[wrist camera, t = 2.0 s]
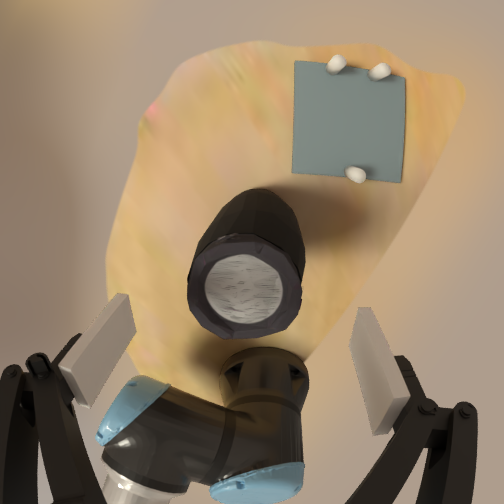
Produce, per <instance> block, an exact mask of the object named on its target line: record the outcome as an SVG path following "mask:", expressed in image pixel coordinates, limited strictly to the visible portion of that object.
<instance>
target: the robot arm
mask: <svg viewBox="0 0 504 504" xmlns="http://www.w3.org/2000/svg"><path fill="white" fill-rule="evenodd" d="M135 333H136V327H135V323H134V319H133V314H132V310H131V305H130V300H129V295H128V294H121V293H117V294H116V295H115V296H114V298H113V299H112V300H111V301H110V302H109V303H108V304H107V306H106V307H105V308H104V309H103V310H102V312H101V313H100V314H99V315H98V317H96V319H95V320H94V321H93V322H92V324H91V325H90V326H89V327H88V328H87V329H86V331H85V332H84V333H83V334H80V333H78V334H77V335H75V336H74V337H72V338H71V339H70V340H69V342H68V343H67V345H65V347H64V348H63V350H61V352H60V353H59V354H58V355H57V356H56V358H55V359H54V360H53V361H52V363H50V361H49V359H48V357H47V355H46V354H44V353H35V354H33V355H31V356H30V357H28V359H27V360H26V363H25V364H26V367H27V369H28V370H29V372H30V373H27V372H23V370H22V369H21V367H20V366H19V365H15V364H13V365H10V366H8V367H6V369H4V371H3V373H2V376H1V379H0V504H38V489H37V466H38V443H39V442H40V447H41V452H42V457H43V461H44V466H45V470H46V474H47V478H48V482H49V485H50V489H51V493H52V496H53V500H54V501H53V503H52V504H169V502H170V499H172V498H174V497H178V496H180V495H184V494H185V493H186V492H187V489H188V487H189V484H190V482H191V481H193V482H198V483H201V484H205V485H208V486H210V489H209V492H210V495H211V497H212V498H213V499H214V500H216V501H219V502H221V503H225V504H273V503H277V502H281V501H284V500H287V499H289V498H291V497H293V496H295V495H296V494H297V493H298V492H299V491H300V490H301V488H302V486H303V476H304V468H305V464H304V461H303V443H302V426H301V410H302V407H303V404H304V402H305V399H306V396H307V393H308V390H309V376H308V371H307V368H306V366H305V364H304V363H303V362H302V361H301V360H300V359H299V358H298V357H296V356H295V355H293V354H291V353H289V352H287V351H284V350H281V349H277V348H269V347H258V348H251V349H247V350H243V351H241V352H238V353H236V354H235V355H233V356H232V357H230V358H229V359H228V360H227V361H226V362H225V364H224V366H223V368H222V371H221V376H220V390H221V395H222V399H223V403H224V407H223V406H220V405H217V404H215V403H212V402H209V401H207V400H204V399H201V398H199V397H196V396H194V395H191V394H189V393H186V392H184V391H182V390H179V389H177V388H175V387H172V386H171V384H169V383H167V384H165V383H162V382H160V381H157V380H155V379H152V378H150V377H148V376H144V375H139V376H135V377H133V378H132V379H131V380H129V381H128V382H127V383H126V385H125V386H124V387H123V389H122V390H121V391H120V393H119V394H118V395H117V397H116V398H115V400H114V402H113V403H112V405H111V406H110V408H109V409H108V411H107V413H106V414H105V417H104V418H103V420H102V422H101V424H100V426H99V429H98V432H97V434H96V436H95V439H96V441H97V442H98V443H99V444H100V445H101V446H105V448H104V451H103V454H102V456H101V460H102V462H103V464H104V466H105V468H106V470H107V471H108V475H107V477H106V480H105V483H104V486H103V489H102V490H101V488H100V486H99V483H98V481H97V478H96V476H95V473H94V471H93V468H92V465H91V463H90V460H89V457H88V454H87V451H86V448H85V445H84V442H83V439H82V435H81V432H80V429H79V425H78V421H77V418H76V414H75V410H74V406H73V404H72V402H71V401H72V400H73V398H74V397H75V399H76V401H77V403H78V404H79V405H81V406H85V407H87V408H91V407H92V405H93V403H94V402H95V400H96V398H97V396H98V395H99V393H100V391H101V389H102V388H103V386H104V384H105V383H106V381H107V379H108V378H109V376H110V374H111V372H112V371H113V369H114V367H115V366H116V364H117V362H118V361H119V359H120V358H121V356H122V354H123V353H124V351H125V349H126V348H127V346H128V345H129V343H130V341H131V340H132V338H133V336H134V335H135ZM349 348H350V351H351V355H352V358H353V362H354V365H355V369H356V372H357V376H358V379H359V383H360V387H361V390H362V394H363V398H364V402H365V405H366V409H367V413H368V417H369V421H370V425H371V430H372V434H373V435H381V434H388V433H389V431H390V430H391V428H392V427H393V429H394V432H395V434H394V435H393V437H392V438H391V440H390V441H389V442H388V444H387V446H386V448H385V450H384V451H383V453H382V454H381V456H380V457H379V459H378V460H377V462H376V463H375V464H374V466H373V467H372V469H371V470H370V472H369V473H368V474H367V476H366V477H365V478H364V480H363V481H362V483H361V484H360V485H359V486H358V488H357V489H356V490H355V492H354V493H353V494H352V495H351V497H350V498H349V499H348V500H347V502H346V503H345V504H392V503H393V502H394V500H395V499H396V497H397V495H398V494H399V492H400V490H401V489H402V487H403V485H404V484H405V482H406V480H407V479H408V477H409V475H410V473H411V471H412V470H413V468H414V466H415V464H416V462H417V460H418V458H419V456H420V454H421V452H422V450H423V448H428V453H427V458H426V463H425V468H424V473H423V477H422V481H421V485H420V489H419V493H418V497H417V500H416V504H471V503H472V496H473V489H474V481H475V472H476V458H477V435H478V419H477V410H476V408H475V407H474V406H473V405H472V404H471V403H468V402H459V403H457V405H456V406H455V407H454V408H453V409H451V408H440V407H438V405H437V404H436V403H435V402H434V401H433V400H431V399H428V398H426V396H425V394H424V391H423V389H422V387H421V385H420V382H419V380H418V378H417V377H416V374H415V372H414V371H413V368H412V365H411V363H410V362H409V361H408V360H407V359H406V358H405V357H404V356H403V355H401V356H393V354H392V351H391V349H390V347H389V345H388V342H387V340H386V338H385V336H384V334H383V332H382V330H381V328H380V325H379V323H378V321H377V319H376V317H375V315H374V313H373V311H372V309H371V308H368V307H367V308H365V307H364V308H360V307H359V308H358V311H357V315H356V320H355V324H354V327H353V332H352V336H351V339H350V343H349Z"/></svg>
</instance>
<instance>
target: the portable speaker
mask: <svg viewBox="0 0 504 504" xmlns="http://www.w3.org/2000/svg"><path fill="white" fill-rule="evenodd" d="M305 262H306V261H305V247H304V243H303V240H302V236H301V232H300V229H299V225H298V222H297V218H296V216H295V214H294V212H293V210H292V209H291V208H290V207H289V206H288V205H287V204H286V203H285V202H284V201H283V200H282V199H281V198H280V197H279V196H277V195H276V194H275V193H273V192H270V191H268V190H261V189H251V190H247V191H244V192H242V193H241V194H239V195H237V196H235V197H234V198H233V199H232V200H231V201H230V202H228V203H227V204H226V205H225V206H224V207H223V208H222V209H221V211H220V212H219V213H218V215H217V216H216V218H215V219H214V220H213V222H212V223H211V225H210V226H209V227H208V229H207V230H206V232H205V233H204V235H203V236H202V238H201V239H200V241H199V242H198V245H197V249H196V252H195V255H194V258H193V261H192V264H191V268H190V271H189V274H188V277H187V281H188V285H187V300H188V304H189V308H190V311H191V312H192V314H193V315H194V316H195V318H196V319H197V321H198V322H199V323H200V325H201V326H202V327H204V328H205V329H207V330H209V331H210V332H212V333H214V334H216V335H217V336H219V337H221V338H223V339H248V338H259V337H263V336H266V335H270V334H274V333H277V332H280V331H283V330H286V329H287V327H288V326H289V325H290V324H291V323H292V321H293V320H294V319H295V318H296V316H297V315H298V312H299V310H300V307H301V302H302V299H301V296H302V288H301V283H302V278H303V273H304V268H305Z"/></svg>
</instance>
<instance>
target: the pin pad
mask: <svg viewBox="0 0 504 504" xmlns="http://www.w3.org/2000/svg"><path fill="white" fill-rule="evenodd" d="M346 63H347V62H346V59H345V58H344V57H343V56H342V55H335V56H333V57H332V59H331V60H330V61H329V63H328V64H327V63H318V62H307V61H295V63H294V124H293V155H292V173H297V174H313V175H327V176H339V177H347V178H349V179H351V180H352V181H354V182H356V183H362V182H364V181H365V179H370V180H379V181H387V182H395V183H400V182H401V172H402V161H403V147H404V127H405V78H404V77H400V76H396V75H392V74H390V73H391V68H390V66H389V65H388V64H386V63H380V64H378V65H377V66H375V67H374V68H372V69H371V70H367V69H361V68H356V67H349V66H345V65H346Z"/></svg>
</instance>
